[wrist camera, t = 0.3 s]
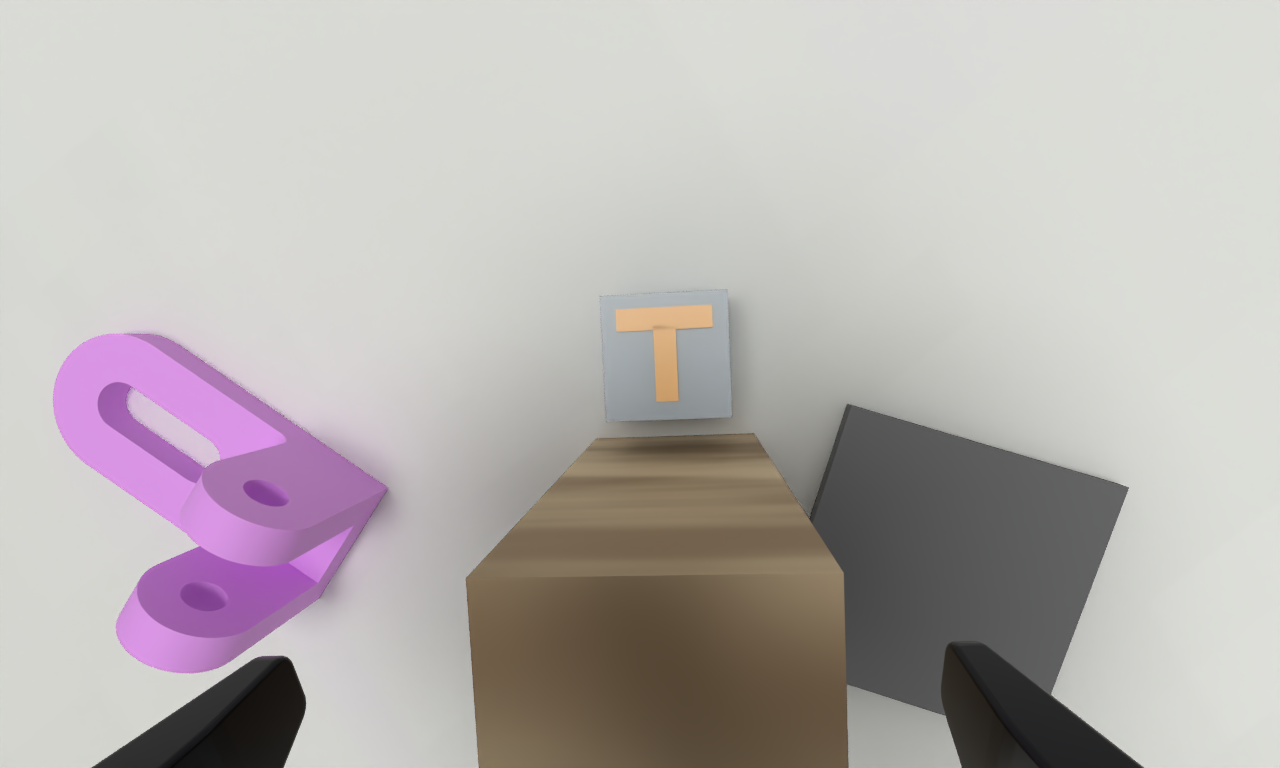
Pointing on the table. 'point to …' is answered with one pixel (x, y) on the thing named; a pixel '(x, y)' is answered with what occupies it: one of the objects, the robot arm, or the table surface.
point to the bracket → (211, 499)
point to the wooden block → (661, 618)
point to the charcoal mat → (955, 552)
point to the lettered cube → (666, 356)
